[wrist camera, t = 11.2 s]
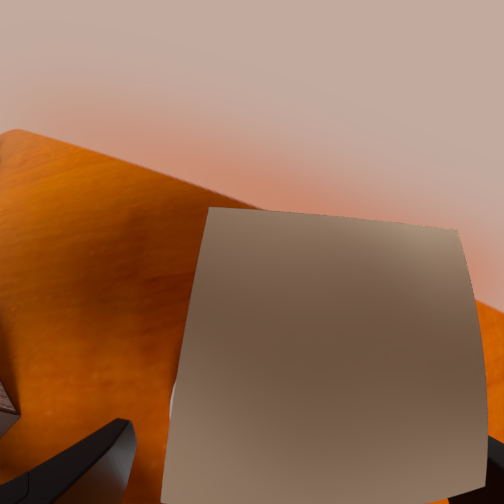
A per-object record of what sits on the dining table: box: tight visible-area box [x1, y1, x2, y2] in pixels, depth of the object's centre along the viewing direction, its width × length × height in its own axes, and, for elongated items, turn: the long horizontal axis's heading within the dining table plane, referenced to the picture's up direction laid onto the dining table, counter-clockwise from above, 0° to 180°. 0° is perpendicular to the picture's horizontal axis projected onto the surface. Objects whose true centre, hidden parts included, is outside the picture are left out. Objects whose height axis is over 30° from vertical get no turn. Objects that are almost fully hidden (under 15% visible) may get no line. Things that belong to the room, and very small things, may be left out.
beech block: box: [160, 207, 488, 504], centre depth 10 cm, size 5×5×13 cm
